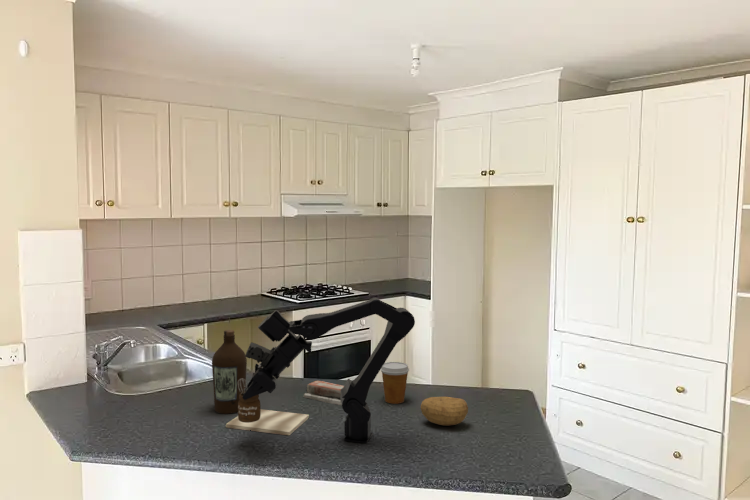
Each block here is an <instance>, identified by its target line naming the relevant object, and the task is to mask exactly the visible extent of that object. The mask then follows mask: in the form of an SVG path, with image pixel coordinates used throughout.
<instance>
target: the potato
mask: <svg viewBox="0 0 750 500" xmlns="http://www.w3.org/2000/svg"><path fill="white" fill-rule="evenodd" d="M420 411H421V414H422V415H423V416H424V418H425V419H426V420H427V421H429V422H430V423H432V424H436V425H439V426H443V427H444V426H446V427H448V426H454V425H458V424H461V423H462V422H463V421H464V420H465V419H466V417H467V414H468V413H469V407H468V403H467V401H466V400H465V399H463V398H460V397H459V398H457V397H449V396H430V397H427V398H424V399H423V400H422V401H421V404H420Z"/></svg>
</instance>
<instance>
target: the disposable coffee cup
mask: <svg viewBox="0 0 750 500" xmlns="http://www.w3.org/2000/svg"><path fill="white" fill-rule="evenodd" d="M408 365H409V364H407V363H405V362H402V361H401V362H400V361H389V362H387V361H385V363H384V365H383V366H382V368H381V369H380V372H381V376H382V384H383V394H384V401H385V402H386V403H388V404H392V405H394V404H395V405H396V404H397V405H398V404H402V403H405V396H406V391H407V390H406V389H407V381H408V374H409V372H410V368H409V366H408Z"/></svg>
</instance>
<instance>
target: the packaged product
mask: <svg viewBox="0 0 750 500" xmlns="http://www.w3.org/2000/svg"><path fill="white" fill-rule="evenodd" d="M344 386H345V385H341V384H337V383H332V382H327V381H322V380H315V381H312V382H310V383H308V384H307V385H306V392H305V393H303V396H302V397H303V398H304V399H310V400H314V401H317V402H323V403H326V404H332V405H337V406H342V404H341V399H340V395H341V389H342V388H343V387H344Z"/></svg>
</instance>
